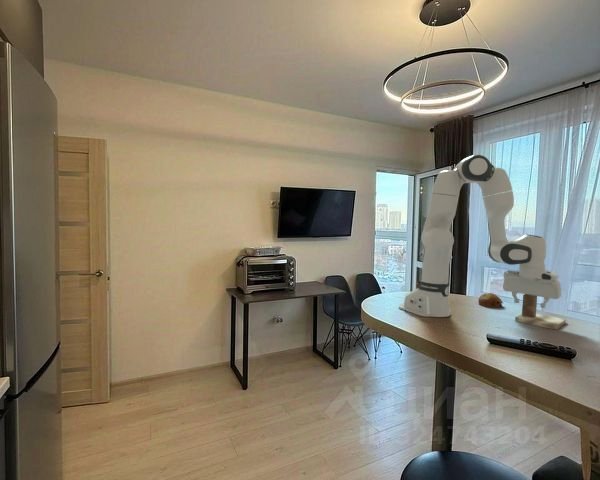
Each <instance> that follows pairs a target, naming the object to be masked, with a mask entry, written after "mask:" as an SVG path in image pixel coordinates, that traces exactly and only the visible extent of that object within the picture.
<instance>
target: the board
mask: <svg viewBox="0 0 600 480" xmlns="http://www.w3.org/2000/svg"><path fill="white" fill-rule="evenodd" d="M514 321H516V322H520V323H524V324H529V325H532V326H538V327H541V328H546V329H552V330H554V331H556V330H558V329H560V328H561V327H562V326H563V325H565V324H566V322H567V321H566V318H561V317H557V316H556V317H555V316H552V315H548V314H547V315H546V314H541V313H540V314H539V313H536V316H535V317H534V318H531V317H526V316H522V313H520V314H518V315H517V316H515V317H514Z"/></svg>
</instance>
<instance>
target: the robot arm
mask: <svg viewBox="0 0 600 480" xmlns="http://www.w3.org/2000/svg"><path fill="white" fill-rule="evenodd" d="M474 183H476V184H478V186H479V188H480V190H481V194H482V200H483V204H484V209H485V213H486V217H487V220H486V221H487V226H488V233H489V244H488V250H487V253H488V254H487V255H488V256H489V258H490V259H491V260H492V261H494V262H496V263H501V264H505V265H508V266H509V265H511V266H515V265H519V266H518V270H517V271H516V270H505V272H503V285H502V289H503V291H505V292H509V293H511V295H512V297H513V299H514V301H513V302H514V304H515V303H516V304H520V298H518V297H517V294H521V295H524V294H527V295H533V296H537V297H539V298H540V297H541V298H543V299H544V300H543V301H544V302H540V304H539V305H540V306H539V307H540V308H542V309H546V306H547V304H548V302H549V301H550V299H552V300H558V299H560V298H561V296H562V287H561V283H560V281H559V280H558V279H559V275H558V274H557V273H555V272H552V271H549V270H547V269H546V265H545V260H546V257H547V243H546V240H545V238H544V237H542V236H540V235H539V236H538V235H534V234H523V235H522V236H521V237H519V238H516V239H514V240H510V241H509V240H508V238H507V234H506V225H505V220H506V219H505V218H506V216H507V215H508V213H509V212H511V210H512V209H513V207H514V205H515V197H514V196H515V195H514V191H513V187H512V183H511V181H510V178H509V175H508V173H507V171H506V170H505V169H504V168H502V167H495V165H493V164H492V162H490V159H488V158H487V157H486V156H484V155H482V154H472V155H470V156H467V157H464V158H463V159H462V160H460V161H459V162H457V164H455V166H454V167H453V168H452V169H451V170H450V169H447V170H442V171H440V172H439V173H438V174H437V176H436V178H435V181H434V184H433V187H432V190H431V196H430V200H429V208H428V211H427V215H426V218H425V222H424V225H423V229H422V233H421V243H422V245H423V246H424V253H423V254H424V255H423V259H422V263H421V265H422V266H421V269H422V271H421V280H419V281H416V286H417V288H415V289H413V290H412V291H410V292H409V293H407V294H406V296H405V297H404V302H403V303H400V304H399V305H398V309H400V310H403V311H405V310H406V312H408V313H412V314H415V315H418V316H420V317H429V318H431V317H434V318H447V317H449V316H451V314H452V312H451V309H450V302H449V295H450V294H449V293H450V283H449V274H450V271H449V270H450V261H451V258H452V253H453V252H452V251H453V245H454V243H455V238H454V235H453V233H452V232H451V231H450V229H451V227H452V223H453V221H454V219H455V216H456V212H457V207H458V202H459V199H460V198H459V197H460V190H461V189H462V187H463V185H468V184H474Z"/></svg>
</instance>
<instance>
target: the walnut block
mask: <svg viewBox="0 0 600 480" xmlns="http://www.w3.org/2000/svg"><path fill="white" fill-rule="evenodd" d="M537 303H538V296H533V295H527V294H522V309H521V314H522V316H526V317H531V318H534V317H535V316H536V314H537Z"/></svg>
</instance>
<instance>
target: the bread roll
mask: <svg viewBox="0 0 600 480" xmlns="http://www.w3.org/2000/svg"><path fill="white" fill-rule="evenodd" d="M477 301H478V304H479V305H480V306H483V307H487V308H493V309H494V308H495V309H497V308H499V307H500V308H502V307H503V304H504V302H503V301H502V299H501V297H500V296H498V295H496V294H494V293H492V292H486V293H483V294H481V295H480V296H479V297H478V300H477Z"/></svg>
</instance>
